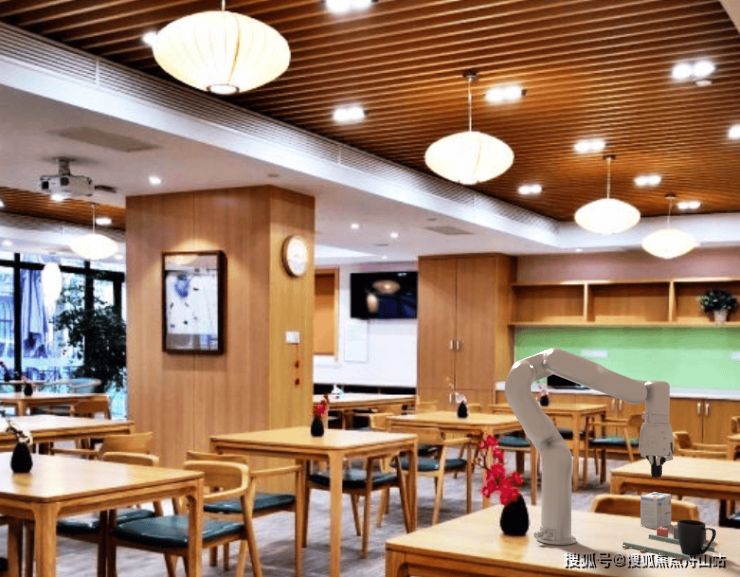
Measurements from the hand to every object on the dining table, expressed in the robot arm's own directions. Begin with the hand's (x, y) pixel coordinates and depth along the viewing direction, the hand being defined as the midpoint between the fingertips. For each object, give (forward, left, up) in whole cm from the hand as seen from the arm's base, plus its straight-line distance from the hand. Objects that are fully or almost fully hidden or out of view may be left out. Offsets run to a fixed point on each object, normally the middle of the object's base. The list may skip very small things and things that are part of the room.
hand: (656, 477), depth 286 cm
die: (+12, +4, -22) cm, 25 cm away
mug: (0, -14, -22) cm, 26 cm away
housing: (+16, -3, -22) cm, 27 cm away
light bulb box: (+27, +15, -22) cm, 38 cm away
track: (-1, -4, -22) cm, 22 cm away
